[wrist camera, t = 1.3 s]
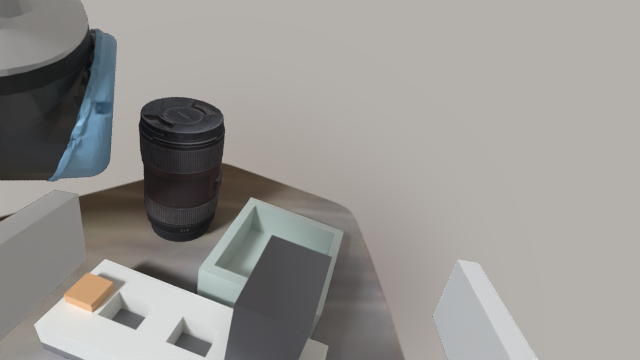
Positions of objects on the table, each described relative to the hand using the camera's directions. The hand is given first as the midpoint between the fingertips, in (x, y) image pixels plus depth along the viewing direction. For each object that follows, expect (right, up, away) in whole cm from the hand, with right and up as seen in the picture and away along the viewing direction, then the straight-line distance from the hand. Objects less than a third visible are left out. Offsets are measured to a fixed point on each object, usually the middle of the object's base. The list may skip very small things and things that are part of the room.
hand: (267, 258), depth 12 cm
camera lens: (-15, -3, +30) cm, 34 cm away
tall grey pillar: (-4, -14, +17) cm, 22 cm away
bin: (-4, -8, +27) cm, 28 cm away
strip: (-9, -13, +18) cm, 24 cm away
